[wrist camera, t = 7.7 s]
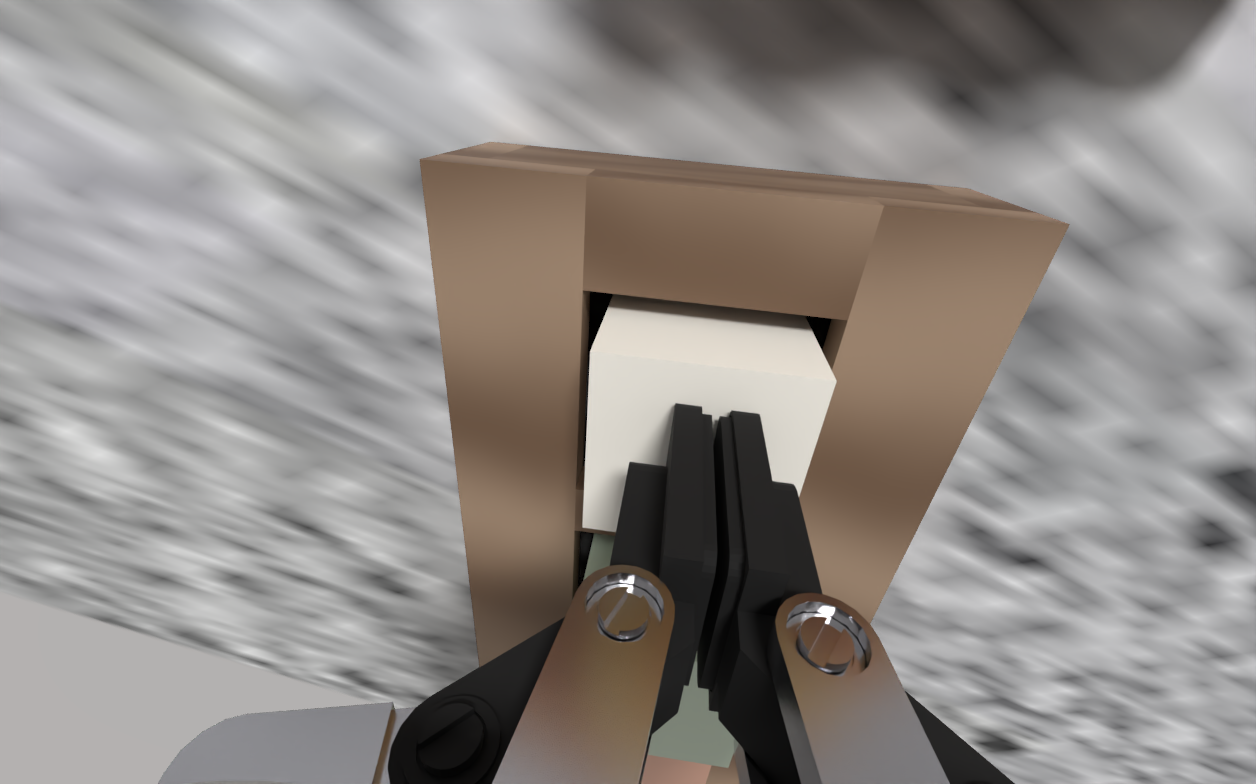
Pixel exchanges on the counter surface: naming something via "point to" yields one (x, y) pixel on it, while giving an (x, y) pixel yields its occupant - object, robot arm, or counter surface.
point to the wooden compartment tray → (723, 276)
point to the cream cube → (697, 388)
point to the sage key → (694, 725)
